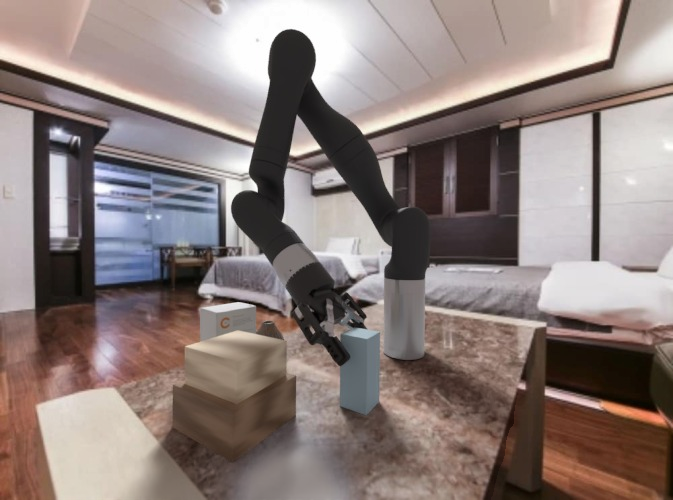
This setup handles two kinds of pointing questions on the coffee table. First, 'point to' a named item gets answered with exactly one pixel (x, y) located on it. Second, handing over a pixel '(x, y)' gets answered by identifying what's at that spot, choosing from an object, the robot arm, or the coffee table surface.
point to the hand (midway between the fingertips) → (360, 353)
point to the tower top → (235, 364)
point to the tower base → (233, 416)
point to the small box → (227, 319)
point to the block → (360, 370)
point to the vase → (269, 330)
